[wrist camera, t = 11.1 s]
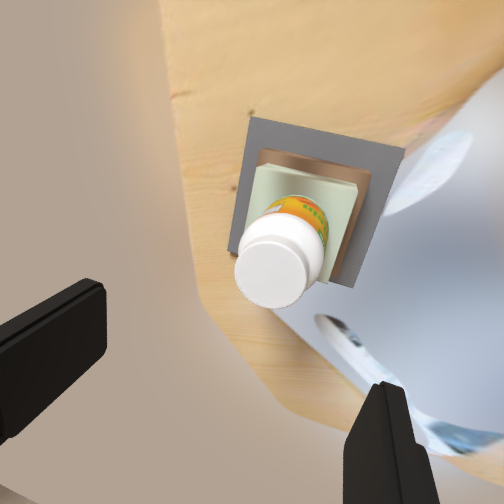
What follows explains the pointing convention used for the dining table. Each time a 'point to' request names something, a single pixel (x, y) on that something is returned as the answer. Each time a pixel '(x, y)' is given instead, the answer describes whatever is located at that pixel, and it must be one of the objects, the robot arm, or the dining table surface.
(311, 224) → the supplement bottle
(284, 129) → the baseplate
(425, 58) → the dining table surface
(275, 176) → the two-tone block stack
